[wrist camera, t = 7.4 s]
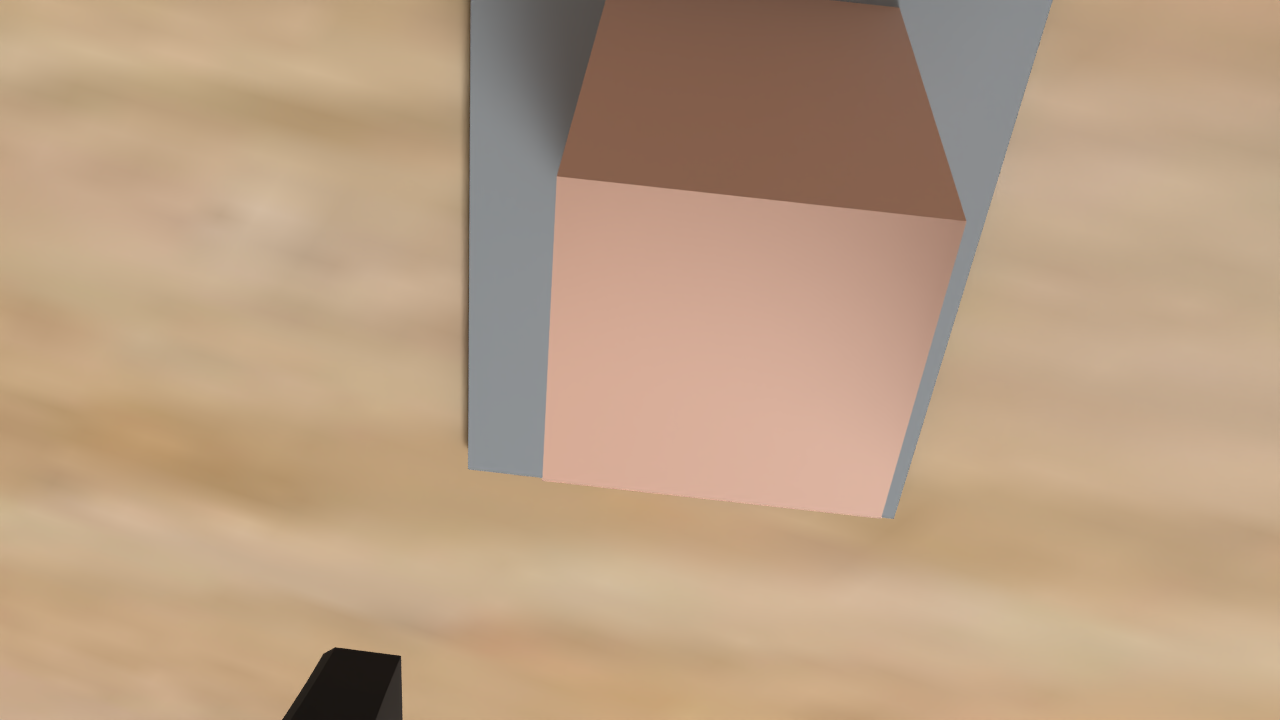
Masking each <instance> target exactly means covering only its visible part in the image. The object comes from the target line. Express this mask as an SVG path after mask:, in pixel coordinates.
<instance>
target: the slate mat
mask: <svg viewBox="0 0 1280 720" xmlns="http://www.w3.org/2000/svg"><path fill="white" fill-rule="evenodd" d="M605 1H606V0H471V41H470V225H469V410H468V469H471V470H479V471H488V472H497V473H505V474H514V475H522V476H531V477H539V478H542V477H543V455H544V434H545V413H546V392H547V371H548V350H549V329H550V308H551V287H552V266H553V245H554V224H555V203H556V181H557V174H558V170H559V166H560V163H561V159H562V156H563V152H564V148H565V145H566V141H567V138H568V134H569V130H570V127H571V123H572V120H573V116H574V112H575V109H576V105H577V102H578V98H579V94H580V91H581V87H582V84H583V80H584V76H585V73H586V69H587V65H588V62H589V58H590V55H591V51H592V47H593V44H594V40H595V37H596V33H597V29H598V26H599V22H600V19H601V15H602V11H603V8H604V4H605ZM834 1H843V2H852V3H861V4H871V5H880V6H889V7H898V8H900V11H901V14H902V17H903V21H904V24H905V27H906V30H907V33H908V36H909V40H910V43H911V46H912V49H913V52H914V56H915V59H916V62H917V65H918V68H919V71H920V75H921V78H922V81H923V84H924V87H925V91H926V94H927V97H928V100H929V103H930V106H931V110H932V113H933V116H934V119H935V122H936V126H937V129H938V132H939V135H940V138H941V141H942V145H943V148H944V151H945V154H946V157H947V161H948V164H949V167H950V170H951V173H952V176H953V180H954V183H955V186H956V189H957V192H958V196H959V199H960V202H961V205H962V208H963V211H964V215H965V218H966V221H967V222H966V225H965V229H964V232H963V236H962V239H961V243H960V246H959V249H958V253H957V256H956V260H955V263H954V267H953V270H952V274H951V277H950V281H949V284H948V288H947V291H946V295H945V298H944V302H943V305H942V309H941V312H940V315H939V319H938V322H937V326H936V329H935V333H934V336H933V340H932V343H931V347H930V350H929V354H928V357H927V361H926V364H925V368H924V371H923V375H922V378H921V382H920V385H919V388H918V392H917V395H916V399H915V402H914V406H913V409H912V413H911V416H910V420H909V423H908V427H907V430H906V434H905V437H904V441H903V444H902V448H901V451H900V454H899V458H898V461H897V465H896V468H895V472H894V475H893V479H892V482H891V486H890V489H889V493H888V496H887V500H886V503H885V507H884V510H883V514H882V517H883V518H891V519H894V516H895V513H896V510H897V506H898V503H899V500H900V497H901V493H902V490H903V487H904V483H905V480H906V477H907V474H908V470H909V467H910V464H911V461H912V457H913V454H914V451H915V448H916V444H917V441H918V438H919V435H920V431H921V428H922V425H923V421H924V418H925V415H926V412H927V408H928V405H929V402H930V399H931V395H932V392H933V389H934V386H935V382H936V379H937V376H938V373H939V369H940V366H941V363H942V359H943V356H944V353H945V350H946V346H947V343H948V340H949V337H950V333H951V330H952V327H953V324H954V320H955V317H956V314H957V311H958V307H959V304H960V301H961V297H962V294H963V291H964V288H965V284H966V281H967V278H968V275H969V271H970V268H971V265H972V262H973V258H974V255H975V252H976V248H977V245H978V242H979V239H980V235H981V232H982V229H983V226H984V222H985V219H986V216H987V213H988V209H989V206H990V203H991V200H992V196H993V193H994V190H995V186H996V183H997V180H998V177H999V173H1000V170H1001V167H1002V164H1003V160H1004V157H1005V154H1006V151H1007V147H1008V144H1009V141H1010V138H1011V134H1012V131H1013V128H1014V124H1015V121H1016V118H1017V115H1018V111H1019V108H1020V105H1021V102H1022V98H1023V95H1024V92H1025V89H1026V85H1027V82H1028V79H1029V75H1030V72H1031V69H1032V66H1033V62H1034V59H1035V56H1036V53H1037V49H1038V46H1039V43H1040V40H1041V36H1042V33H1043V30H1044V27H1045V23H1046V20H1047V17H1048V13H1049V10H1050V7H1051V4H1052V0H834Z"/></svg>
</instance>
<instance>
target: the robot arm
mask: <svg viewBox="0 0 1280 720" xmlns="http://www.w3.org/2000/svg"><path fill="white" fill-rule="evenodd" d="M282 720H402V680H401V656H398V655H390V654H382V653H374V652H367V651H359V650H351V649H344V648H336V647H335V648H333V649H332V650H330V651H328V652H326V653H324V654H323V656H322V657H321V659H320V661H319V662H318V664H317V666H316V667H315V669H314V671H313V672H312V674H311V676H310V677H309V679H308V681H307V682H306V684H305V685H304V687H303V689H302V690H301V692H300V693H299V695H298V696H297V698H296V699H295V701H294V703H293V704H292V706H291V707H290V709H289V710H288V712H287V713H286V715H285V716H284V718H283V719H282Z"/></svg>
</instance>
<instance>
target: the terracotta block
mask: <svg viewBox="0 0 1280 720" xmlns="http://www.w3.org/2000/svg"><path fill="white" fill-rule="evenodd" d="M966 222H967V221H966V218H965V215H964V211H963V208H962V205H961V202H960V199H959V196H958V192H957V189H956V186H955V183H954V180H953V176H952V173H951V170H950V167H949V164H948V161H947V157H946V154H945V151H944V148H943V145H942V141H941V138H940V135H939V132H938V129H937V126H936V122H935V119H934V116H933V113H932V110H931V106H930V103H929V100H928V97H927V94H926V91H925V87H924V84H923V81H922V78H921V75H920V71H919V68H918V65H917V62H916V59H915V56H914V52H913V49H912V46H911V43H910V40H909V36H908V33H907V30H906V27H905V24H904V21H903V17H902V14H901V11H900V8H898V7H889V6H880V5H871V4H861V3H852V2H843V1H834V0H606V1H605V4H604V8H603V11H602V15H601V19H600V22H599V26H598V29H597V33H596V37H595V40H594V44H593V47H592V51H591V55H590V58H589V62H588V65H587V69H586V73H585V76H584V80H583V84H582V87H581V91H580V94H579V98H578V102H577V105H576V109H575V112H574V116H573V120H572V123H571V127H570V130H569V134H568V138H567V141H566V145H565V148H564V152H563V156H562V159H561V163H560V166H559V170H558V174H557V181H556V203H555V224H554V245H553V266H552V287H551V308H550V329H549V350H548V371H547V392H546V413H545V434H544V455H543V477H542V481H549V482H558V483H567V484H576V485H585V486H594V487H603V488H612V489H621V490H630V491H639V492H648V493H657V494H666V495H675V496H684V497H693V498H702V499H711V500H720V501H729V502H738V503H747V504H756V505H765V506H773V507H782V508H791V509H800V510H809V511H818V512H827V513H836V514H845V515H854V516H863V517H872V518H881V517H882V514H883V510H884V507H885V503H886V500H887V496H888V493H889V489H890V486H891V482H892V479H893V475H894V472H895V468H896V465H897V461H898V458H899V454H900V451H901V448H902V444H903V441H904V437H905V434H906V430H907V427H908V423H909V420H910V416H911V413H912V409H913V406H914V402H915V399H916V395H917V392H918V388H919V385H920V382H921V378H922V375H923V371H924V368H925V364H926V361H927V357H928V354H929V350H930V347H931V343H932V340H933V336H934V333H935V329H936V326H937V322H938V319H939V315H940V312H941V309H942V305H943V302H944V298H945V295H946V291H947V288H948V284H949V281H950V277H951V274H952V270H953V267H954V263H955V260H956V256H957V253H958V249H959V246H960V243H961V239H962V236H963V232H964V229H965V225H966Z"/></svg>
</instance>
